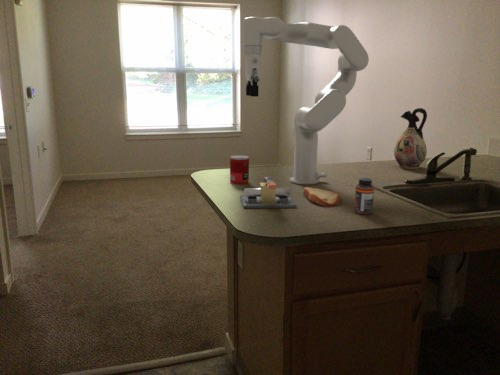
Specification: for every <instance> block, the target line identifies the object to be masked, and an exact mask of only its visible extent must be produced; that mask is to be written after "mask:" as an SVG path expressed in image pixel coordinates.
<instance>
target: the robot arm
mask: <svg viewBox="0 0 500 375" xmlns="http://www.w3.org/2000/svg"><path fill="white" fill-rule="evenodd" d="M242 26H243V28H242V29H243V30H242V31H243V33H242V34H243V35H242V36H243V39H242V40H243V41H242V46H243V47H242V55H243V56H245V65H244V66H245V67H244V69H245V71H244V72H245V80H246V82H245V83H246V85H245V96H249V97H253V98H254V97H257V98H258V97H259V82H260V81H261V80H262V63H261V62H262V60H261V56H263V46H264V45H263V42H264V41H263V39H265V40H269V41H274V42H279V43H280V42H281V43H289V44H296V45H303V46H304V45H305V46H311V47H317V48H322V49H330V50H335V49H336V50H337V49H338V50H339V52H340V53H341V54H340V55H339V57H338V59H337V67H338V68H337V74H336V76H335V77H334V78H333V79H332V80H331V81H330V82H329V83H328V84H327V85H326V86H325V87H323V88H322V90H320V91H319V92H318V93H317V94H316V96H315V98H314V105H313V106H308V105H307V106H303V107H300V108H298V109H297V111H296V112H295V114H294V120H293V124H294V155H293V156H294V158H293V176H292V177H289V181H290V182H291V183H293V184H297V185H317V184H319V183H320V178H322V179H324V178H328V173H327V172H319V171H318V170H317V162H318V161H317V160H318V145H319V144H318V142H319V140H318V139H319V138H318V133H319V132H320V131H322V130H323V129H324V128H326V127H327V126H328V125H329V124H330V123H331V122H332V121H333V120H335V118H336V117H338V116H339V115H340V114H341V113H342V112H343V110H344V109H345V107H346V104H347V97H346V96H347V95H348V94H349V93H350V92H351V91H352V90H353V88H354V87H355V84H356V82H357V75H358V74H357V73H358V72H361V71H363V70H364V69H366V68H367V66H368V64H369V60H370V58H369V53H368V52H367V51H366V48H365V47H364V45H363V44H362V43H361V41H360V40H359V38H358V37H357V36H356V34H355V33H354V32H353V30H352V29H351V28H350V27H348V26H347V25H344V24H339V25H336V26H333V25H327V24H320V23H315V22H308V21H307V22H306V21H305V22H296V23H293V22H291V23H290V22H284V21H283V20H282V19H281V18H279V17H277V16H268V17H258V16H249V17H244V19H243V25H242Z"/></svg>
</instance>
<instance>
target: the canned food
mask: <svg viewBox="0 0 500 375" xmlns="http://www.w3.org/2000/svg"><path fill="white" fill-rule="evenodd" d="M229 168H230V169H229V181H230V183H231V184H234V185H246V184H248V183H249V181H250V156H248V155H243V154H241V155H239V154H238V155H237V154H235V155H231V156H230V157H229Z"/></svg>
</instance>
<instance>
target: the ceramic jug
mask: <svg viewBox="0 0 500 375" xmlns="http://www.w3.org/2000/svg"><path fill="white" fill-rule="evenodd" d="M418 113H421V115H422V120H421V121H420V118H419V116H418V115H417V114H418ZM400 118H402V119H404V120H406V121H408V126H407V127H406V129H405V130H404V131H403V132H402V134H401V135H400V137H399V138H398V140H397V141H396V144H395V146H394V147H395V148H394V150H393V155H394V159H395V161H396V163H397V164H398V166H399V168H400V169H406V170H407V169H408V170H416V169H417V170H418V169H420V165H422V164H423V162H425V160H426V158H427V152H428V151H427V145H426V141H425V139H424V135H423V128H424V126H425V123H426V121H427V118H428V114H427V110H425V109H424V108H422V107H419V108H415V109H414V110H413V111H410V110H407V111H405V112H403V114H401V115H400ZM418 122H421V123H420V124H419V127H418V126H417V123H418Z"/></svg>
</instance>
